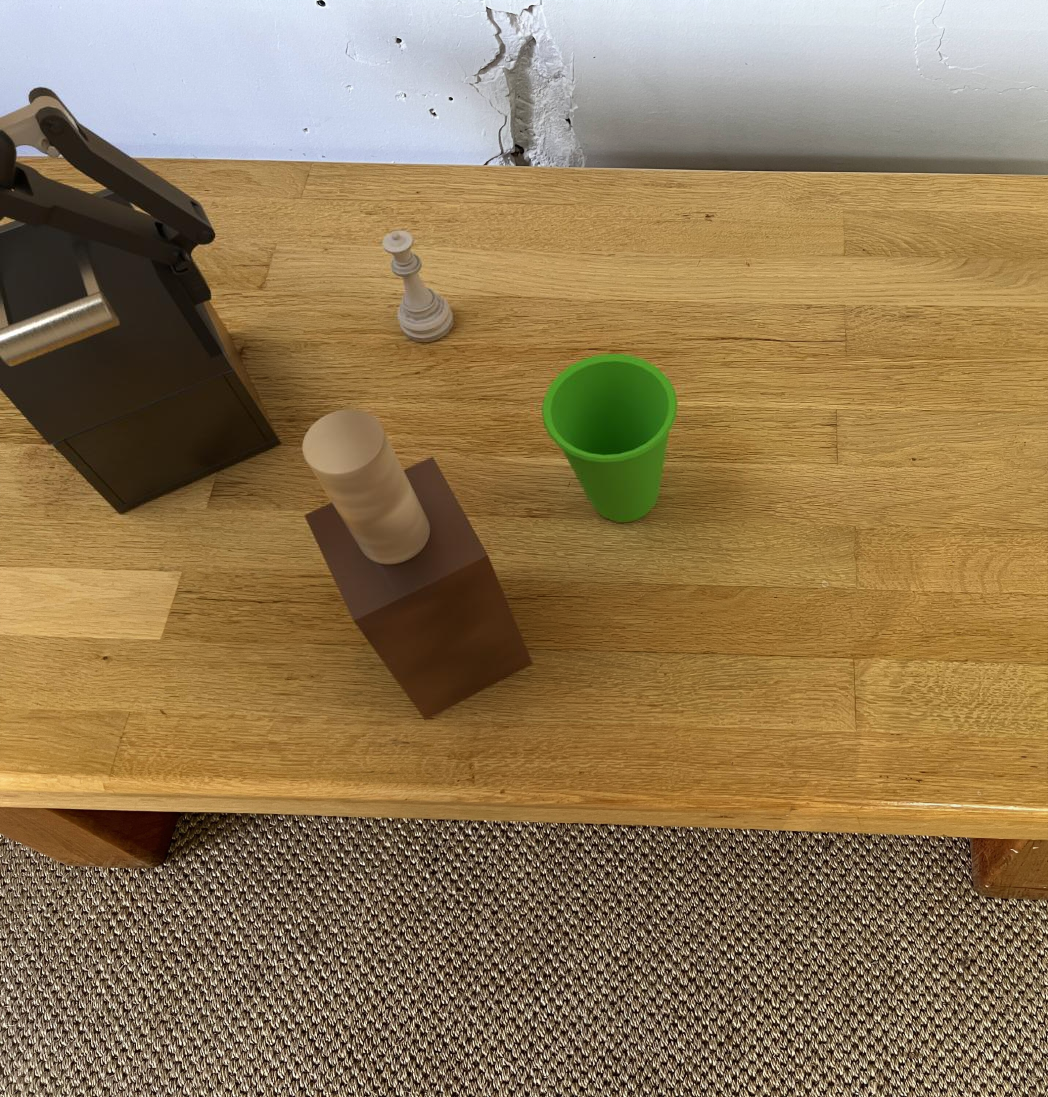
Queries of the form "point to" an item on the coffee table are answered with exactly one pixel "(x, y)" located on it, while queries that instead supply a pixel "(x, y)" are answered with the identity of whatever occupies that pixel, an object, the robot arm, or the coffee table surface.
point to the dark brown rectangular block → (428, 601)
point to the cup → (613, 430)
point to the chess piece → (416, 293)
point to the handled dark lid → (88, 330)
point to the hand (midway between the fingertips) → (95, 387)
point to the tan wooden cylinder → (367, 485)
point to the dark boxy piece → (175, 435)
